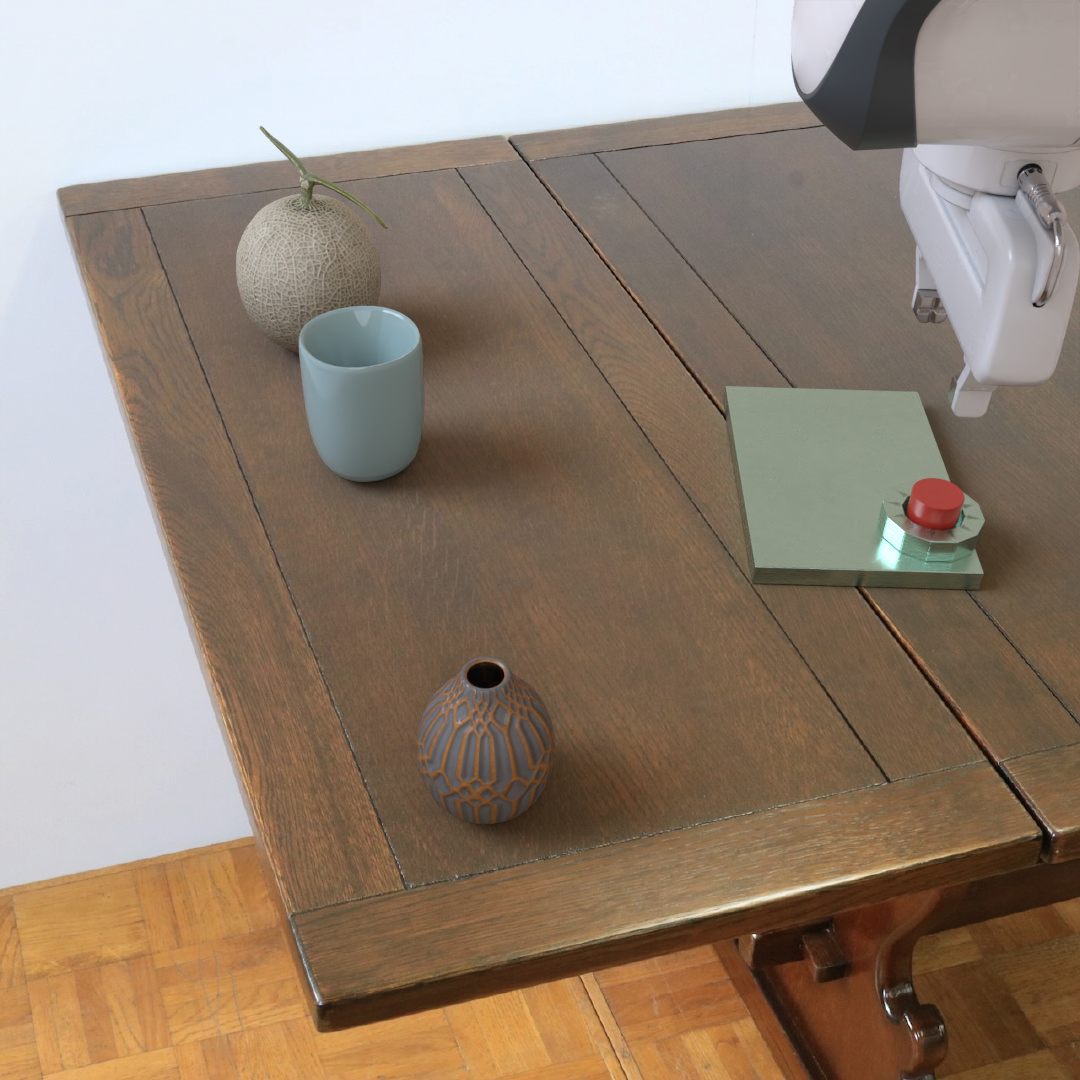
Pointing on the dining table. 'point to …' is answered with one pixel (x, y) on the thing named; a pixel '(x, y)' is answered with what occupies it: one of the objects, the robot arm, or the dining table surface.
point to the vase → (485, 744)
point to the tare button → (935, 504)
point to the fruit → (305, 259)
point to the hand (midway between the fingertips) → (945, 361)
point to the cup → (363, 390)
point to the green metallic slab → (843, 490)
